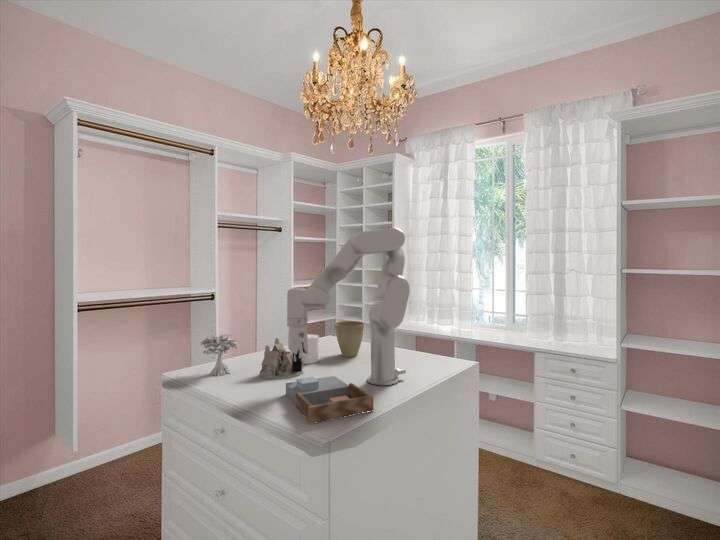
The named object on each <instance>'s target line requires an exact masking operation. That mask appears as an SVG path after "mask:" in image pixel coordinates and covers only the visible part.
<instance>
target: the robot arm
mask: <svg viewBox="0 0 720 540" xmlns="http://www.w3.org/2000/svg"><path fill="white" fill-rule="evenodd" d="M405 240H406V236H405V233H404V232H403V230H401V228H398V227H388V228H382V229H381V228H380V229H375V230H374V229H373V230H367V231H366V230H363V231H359V232H354V233H353V234H352V235H351V236H350V237H349V238H348V239H347V241H346V242H345V243H344V244H343V246H342V247H341V248H340V249H339V251H338V253H336V255H335V256H334V257H333V258H332V260H331V261H330V262H329V263H328V264H327V266H325V268H324V269H323V270H322V271H320V273H319V274H318V275H317V276H316V277H315V279H314V280H313V281H312V283H311V284H310V285H309V287H308V288H307V289H306V288H302V287H300V288H298V287H294V288H289V289H288V290H287V293H286V294H287V295H286V296H287V297H286V327H288V334H287V335H288V336H287V340H288V341H287V345H288V347H287V349H288V350H289V352H291V353H292V360H293V361H292V371H293V372H301V371H302V370H303V366H302V358H303V352H304V353H306V354H307V353H308V336H307V334H308V328H307V327H308V325H309V324H308V323H309V322H308V321H309V319H308V317H309V315H308V314H309V313H308V311H309V309H317V310H318V309H319V310H320V309H324V308H326V307H327V306H328V305H329V303H330V301H331V296H330V294H329V292H330V291H331V290H332V289H333V288H334V286H335V285H337V284H338V283H339V282H341V281H342V280H344V279H346V278H347V277H348V276H349V275H351V273H352V272H353V270H355V268H356V266H357V265H358V264H359V263H360V261H361V260H362V259H363V257H364V256H365V255H370V254H371V255H372V254H379V253H381V254H382V255H381V256H382V267H381V270H380V274H379V278H378V283H377V288H376V289H377V292H378V294H379V295H380V296H381V297H383V300H377V301H375V302H374V303H372V305H371V306H370V307H369V310H368V321H369V327H370V375H368V376H367V378H366V381H367V383H369V384H370V385H375V386H393V385H396V384H398V383H399V382H400V377H399V376H400V375H405V374H406V372H407V371H406V368H402V369H401V368H399V367H398V368H396V336H395V334H396V333H395V329H396V328H398V327H400V326H401V325H402V322H403V321H404V318H405V313H406V310H407V306H408V302H409V297H410V284H409V281H408V279H406V278H405V277H404V276H403V274H404V268H405V261H406V260H405V254H404V251H403V248H402V247H403V246H404V245H405ZM392 384H393V385H392Z"/></svg>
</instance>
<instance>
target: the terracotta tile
mask: <svg viewBox="0 0 720 540" xmlns="http://www.w3.org/2000/svg"><path fill="white" fill-rule="evenodd" d="M346 399H350V398H348V397H347V396H346V395H345V396H340V397H334V398H329V401H328V403H330V402H335V401H340V400H346Z"/></svg>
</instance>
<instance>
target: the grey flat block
mask: <svg viewBox="0 0 720 540" xmlns="http://www.w3.org/2000/svg"><path fill="white" fill-rule="evenodd" d="M315 379H316V380H318V381H319V388H318V389H312V390H306V391H301V390H300V389H299V388H298V387H297V381H291V382H286V383H285V395H286V396H287V397H288V398H289V399H290V400H291V402H292V403H293V404H294V405H295V404H296V392H300V393H301V394H302V395H303V396H304V397H305V398H306V399H307V400H308V401H309V402H310V403H311V404H312V405H316V404H315V403H317V404H323V403H329V398H334V397H340V396H345V395H346V396H347V397H348V398H349V384H347V383H346V382H344V381H343V380H341V379H340V378H338V377H337V376H335V375H331V376H326V377H325V376H324V377H319V378H315ZM322 402H323V403H322Z"/></svg>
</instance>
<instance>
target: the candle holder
mask: <svg viewBox="0 0 720 540" xmlns="http://www.w3.org/2000/svg"><path fill="white" fill-rule="evenodd" d="M307 336H308V353H307V354H306V353H304V352H303V358H302V360H303V361H304V363H303V365H304V364H305V365H312V364H316V363H318V362H319V347H320V346H319V345H320V344H319V343H320V335H319V334H311V333H310V334H309V333H307Z"/></svg>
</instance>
